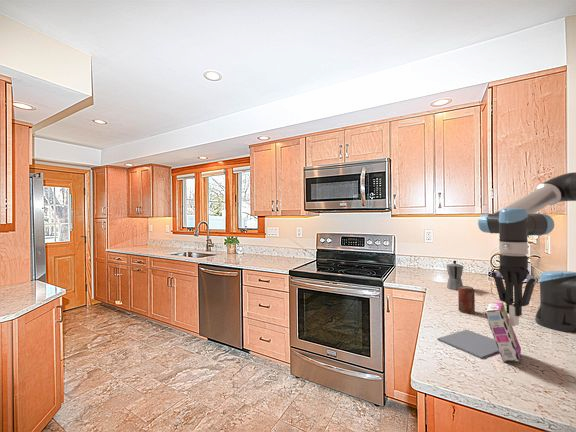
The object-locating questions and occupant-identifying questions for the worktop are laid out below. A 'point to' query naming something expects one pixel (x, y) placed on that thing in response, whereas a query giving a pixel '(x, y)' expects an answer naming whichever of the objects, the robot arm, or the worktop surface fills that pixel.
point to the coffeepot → (454, 276)
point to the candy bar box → (503, 332)
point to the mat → (471, 343)
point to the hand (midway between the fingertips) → (514, 324)
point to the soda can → (466, 299)
